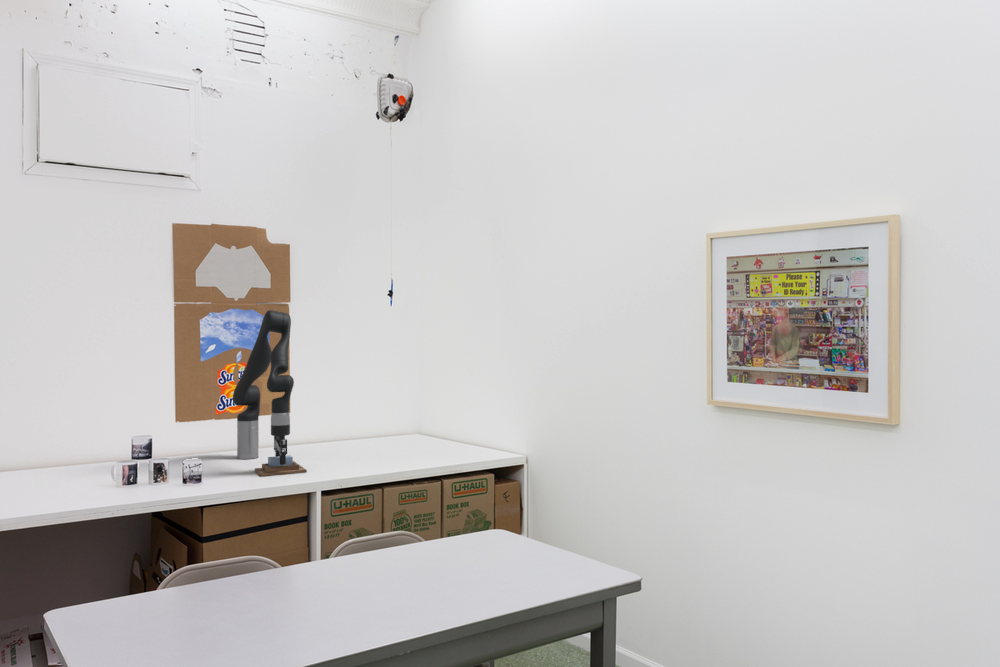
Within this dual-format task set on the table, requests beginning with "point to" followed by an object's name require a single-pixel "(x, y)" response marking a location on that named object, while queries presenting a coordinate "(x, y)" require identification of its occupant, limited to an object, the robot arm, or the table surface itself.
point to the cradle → (280, 470)
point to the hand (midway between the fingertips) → (280, 462)
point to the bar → (276, 461)
